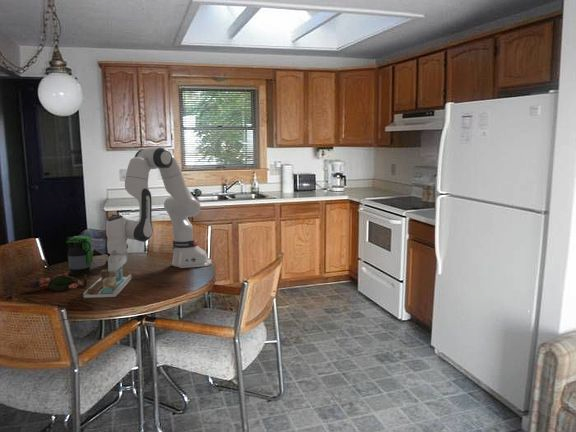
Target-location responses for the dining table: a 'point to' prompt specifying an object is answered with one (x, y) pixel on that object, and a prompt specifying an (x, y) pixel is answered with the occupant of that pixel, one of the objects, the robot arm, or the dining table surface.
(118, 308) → the dining table surface
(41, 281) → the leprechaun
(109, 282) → the maple cube
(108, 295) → the lane board
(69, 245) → the potted plant
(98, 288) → the strip walnut
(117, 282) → the strip teal
